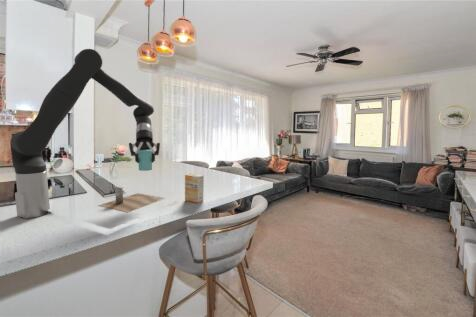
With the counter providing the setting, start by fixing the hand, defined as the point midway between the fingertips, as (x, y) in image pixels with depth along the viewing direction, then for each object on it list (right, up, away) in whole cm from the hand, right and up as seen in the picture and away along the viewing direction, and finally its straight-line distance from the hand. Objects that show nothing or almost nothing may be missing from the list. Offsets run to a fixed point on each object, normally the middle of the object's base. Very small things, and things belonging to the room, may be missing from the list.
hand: (145, 161), depth 105 cm
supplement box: (+20, -20, +10) cm, 30 cm away
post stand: (-6, -20, +2) cm, 21 cm away
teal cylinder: (-1, -4, +2) cm, 4 cm away
